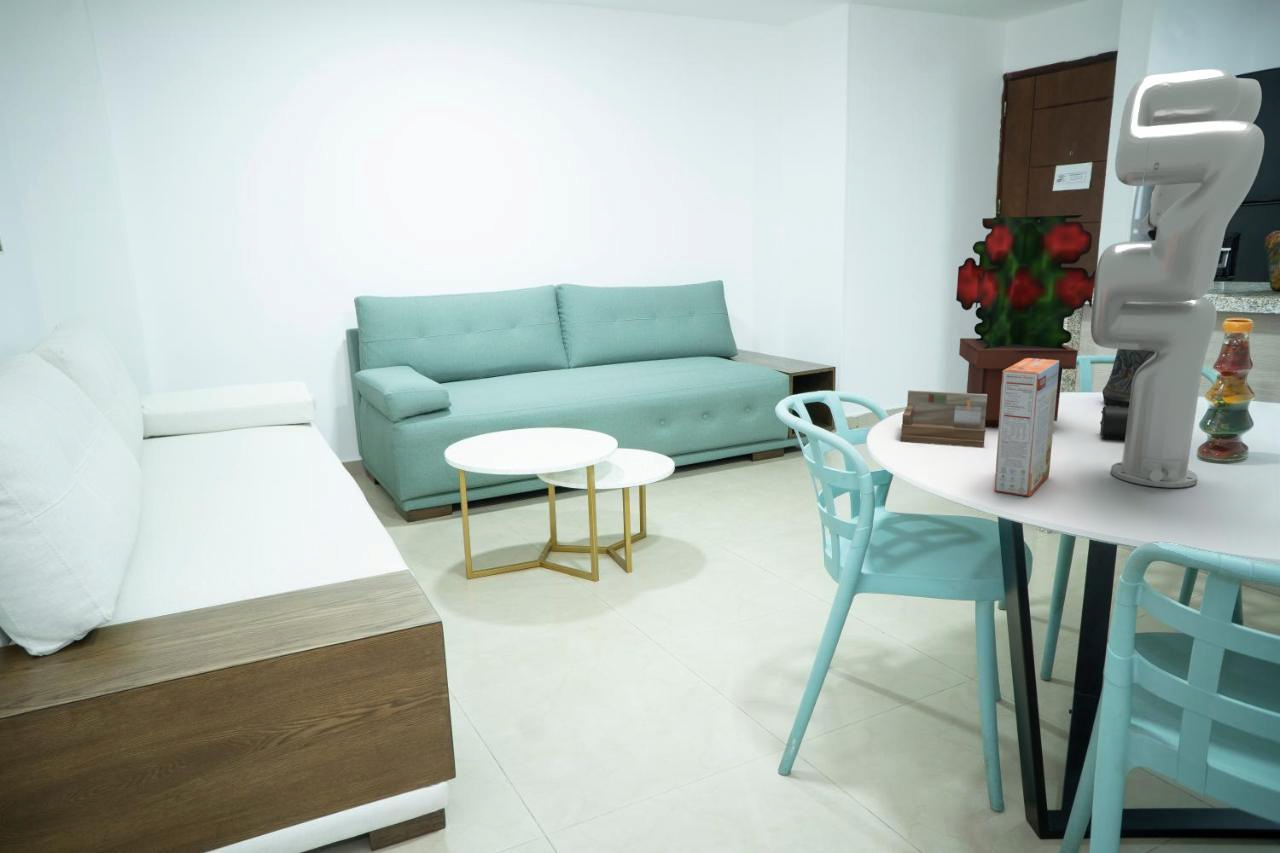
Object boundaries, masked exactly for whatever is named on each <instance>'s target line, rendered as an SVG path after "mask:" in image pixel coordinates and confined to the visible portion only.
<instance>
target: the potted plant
mask: <svg viewBox="0 0 1280 853" xmlns="http://www.w3.org/2000/svg"><path fill="white" fill-rule="evenodd" d="M1082 216H1083V214H1073V215H1070V214H1069V215H1044V216H1043V215H1041V216H1008V217H1007V216H1001V217H999V216H996V217H995V216H994V217H991V218H990V217H988V218H982V220H981V221H982V222H981V223H982V226H983V228H985V229H986V230H990V232H989V233H987V234H986V236H985V239H984V240H979V241H975V243H974V244H973V246H972V251H973V252H974V254H976V255H979V260H978V261H979V262H978V264H977V262H976V261H977V260H975V259H974V258H973V257H967V258H966V259H965V261H964V262H963V264H962V265H960V266H958V268H957V284H956V298H955V300H956V301H957V302H959V303H960V306H961V308H962V309H963V310H964V311H969V310H971V309H972V308H973V305H974V304H975V309H976V310H975V316H976V318H977V319H979V320H981V321H980V322H978V323H976V324H975V326H974V333H975V334H976V335H978V336H980V338H976V337H975V338H974V337H973V338H972V337H970V338H966V337H960V339H959V349H958V350H959V351H958V352H959V353H958V355H959V357H961V358H962V359H964V360H965V361H966V362H968V370H967V371H968V373H967V384H966V393H971V394H987V405H986V417H985V426H986V427H991V426H999V416H1000V402H1001V387H1002V372H1003V370H1005V369H1007V368H1009V367H1011V366H1013V365H1014V364H1016V363H1018V362H1020V361H1022V360H1023V359H1026V358H1037V359H1046V360H1059V371H1058V382H1057V393H1056V404H1055V415H1054V422H1057V421H1058V414H1059V405H1060V397H1061V396H1060V395H1061V388H1062V387H1061V386H1062V374H1063V370H1076V369H1077V360H1078V351H1079V350H1077V349H1075V348H1073V347H1072V346H1071V347H1070V346H1068V345H1066V344H1068V343H1070V342H1071V340H1072V337H1073V336H1072V334H1071V332H1070V331H1069V330H1067V329H1065V327H1064V325H1065V319H1066V318H1070V317H1072V316H1073V315H1074V314H1075V311H1076V310H1079V309H1082V308H1083V307H1085V306H1084V305H1086V302H1088V305H1089V307H1090V308H1092V307H1093V297H1094V287H1095V277H1096V270H1093V272H1092V274H1091V276H1089V274H1088V270H1087V269H1086V268H1083V267H1068V266H1067V267H1062V265H1067V264H1069V265H1072V264H1073V265H1074V264H1076V263H1078V262H1079V260H1080V258H1081V257H1082V256H1083V255H1087V254H1088V253H1089V252H1090V251H1091V249H1092V241H1093V235H1092V233H1091V232H1090V231H1087V230H1085V229H1084V226H1083V224H1082V223H1081V222H1079V221H1066V220H1067V219H1078V218H1080V217H1082ZM978 304H979V306H978Z"/></svg>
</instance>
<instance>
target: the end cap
mask: <svg viewBox="0 0 1280 853" xmlns="http://www.w3.org/2000/svg"><path fill="white" fill-rule="evenodd" d="M1100 412H1101V420H1100V422H1099V424H1100V430H1099V435H1100V437H1101V436H1102V437H1101V438H1102V439H1107V438H1109V439H1110V440H1124V441H1125V436H1126V428H1127V420H1128V412H1129V408H1124V407H1119V406H1110V405H1109V406H1105V405H1104V406H1103V407H1102V410H1101V411H1100Z"/></svg>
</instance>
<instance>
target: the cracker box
mask: <svg viewBox="0 0 1280 853" xmlns="http://www.w3.org/2000/svg"><path fill="white" fill-rule="evenodd" d="M1058 371H1059V360H1046V359H1037V358H1026V359H1023V360H1022V361H1020V362H1018V363H1016V364H1014V365H1013V366H1011V367H1009V368H1007V369H1005V370H1003V372H1002V387H1001V402H1000V416H999V427H998V429H997V430H998V433H997V446H996V459H995V477H994V484H993V485H994V489H993V490H994V492H997V493H1001V494H1010V495H1016V496H1022V497H1031V496H1032V494H1033V493H1034V492H1035V491H1036V490H1037V489H1038V488H1039V487H1040V486H1041V485H1042V484H1043V482H1044V481H1046V479H1047V478H1049V476H1050V471H1051V470H1050V469H1051V460H1052V448H1053V447H1052V446H1053V438H1054V436H1053V435H1054V424H1055V421H1054V415H1055V404H1056V393H1057V382H1058Z"/></svg>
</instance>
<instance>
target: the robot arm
mask: <svg viewBox="0 0 1280 853" xmlns="http://www.w3.org/2000/svg"><path fill="white" fill-rule="evenodd" d="M1262 92H1263V91H1262V88H1261V85H1260V82H1259V81H1258V80H1257V79H1253V78H1245V77H1244V78H1243V77H1242V78H1241V77H1237V76H1236V75H1234V73H1232V72H1230V71H1228V70H1225V69H1220V68H1203V69H1202V68H1201V69H1195V70H1184V71H1175V72H1167V73H1158V74H1150V75H1147V76H1143V77H1142V78H1140V79H1139V80H1138V81H1136V82H1135V83H1134V85H1133V86H1132V88H1131V89H1130V91H1129V93H1128V95H1127V98H1126V99H1125V103H1124V106H1123V111H1122V115H1121V120H1120V121H1121V122H1120V128H1119V134H1118V135H1119V136H1118V140H1117V141H1118V142H1117V145H1116V146H1117V147H1116V153H1115V158H1114V160H1115V161H1114V168H1115V169H1114V170H1115V176H1116V177H1117V180H1118V181H1119V182H1120V183H1122V184H1124V185H1126V186H1132V187H1144V186H1149V187H1150V186H1153V188H1152V189H1153V190H1152V193H1151V197H1150V202H1149V208H1148V212H1147V214H1146V215H1145V216H1144V218H1142V220H1141V221H1140V222H1139V224H1138V225H1137V226H1136V230H1137V231H1138V232H1141V233H1143V234H1144V235H1147V237H1149V238H1150V239H1151V240H1142V241H1141V240H1138V241H1137V240H1136V241H1135V240H1134V241H1121V242H1116V243H1113V244H1111V245H1109V246H1108V247H1106V248H1105V250H1103V251H1102V253H1101V255H1100V257H1099V259H1098V260H1099V261H1098V263H1097V267H1096V270H1095V279H1094V288H1093V297H1092V306H1091V318H1090V333H1091V334H1090V335H1091V337H1092V338H1091V339H1092V341H1093V342H1094V344H1096V345H1097V346H1099V347H1101V348H1105V349H1112V350H1113V349H1114V350H1118V349H1128V350H1146V351H1153V352H1155V354H1154V355H1153V356H1152V357H1151V358H1150V359H1148V360H1147V361H1146V362H1145V363H1144V364H1142V365H1141V366H1140V367H1139V368H1138V370H1137V371H1136V373H1135V374H1134V377H1133V381H1132V388H1131V396H1130V404H1129V412H1128V420H1127V428H1126V436H1125V440H1124V446H1123V454H1122V460H1121V461H1119V462H1115V463H1114V464H1112V465H1111V467H1110V473H1111V474H1112V476H1114V477H1115V478H1118V479H1120V480H1122V481H1125V482H1129V483H1133V484H1136V485H1141V486H1149V487H1155V488H1166V489H1167V488H1168V489H1170V488H1173V489H1174V488H1175V489H1176V488H1177V489H1179V488H1181V489H1182V488H1187V487H1191V486H1194V485H1196V484H1197V482H1198V476H1197V473H1195V472H1193V471H1191V470H1190V469H1189V468H1188V467H1189V460H1190V454H1191V448H1192V443H1193V442H1192V440H1193V434H1194V428H1195V427H1194V426H1195V420H1196V414H1197V406H1198V400H1199V394H1200V386H1201V380H1202V379H1201V378H1202V374H1203V369H1204V368H1203V367H1204V364H1205V359H1206V356H1207V352H1208V349H1209V346H1210V342H1211V340H1212V336H1213V333H1214V330H1215V327H1216V324H1217V318H1218V317H1217V315H1218V314H1217V312H1218V311H1217V308H1216V306H1215V304H1214V302H1212V301H1211V300H1210V299H1208V298H1207V297H1204V296H1206V295H1207V293H1208V292H1209V291H1210V289H1211V287H1212V286H1213V284H1214V279H1215V277H1216V274H1217V269H1218V264H1219V260H1220V256H1221V252H1222V247H1223V244H1224V243H1223V242H1224V239H1225V234H1226V229H1227V228H1228V225H1229V223H1230V221H1231V220H1232V218H1233V216H1234V215H1235V213H1236V211H1237V210H1238V209H1239V208H1240V206H1241V204H1242V203H1243V202H1244V200H1245V198H1246V197H1247V195H1248V194H1249V192H1250V190H1251V188H1252V186H1253V184H1254V182H1255V180H1256V177H1257V176H1258V172H1259V169H1260V166H1261V163H1262V161H1263V160H1262V159H1263V156H1264V150H1265V136H1264V132H1263V131H1262V129H1261V128H1260V127H1259V126H1258V125H1257V124H1255V123H1254V122H1255V120H1256V119H1257V117H1258V115H1259V112H1260V109H1261V105H1262ZM1149 226H1150V227H1149ZM1151 227H1152V228H1156V230H1154V229H1152V228H1151Z"/></svg>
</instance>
